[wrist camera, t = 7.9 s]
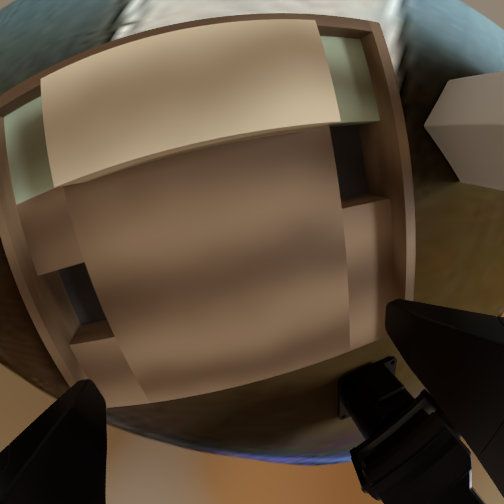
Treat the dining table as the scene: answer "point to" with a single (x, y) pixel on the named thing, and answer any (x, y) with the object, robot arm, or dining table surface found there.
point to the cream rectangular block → (185, 95)
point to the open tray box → (217, 238)
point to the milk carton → (472, 128)
